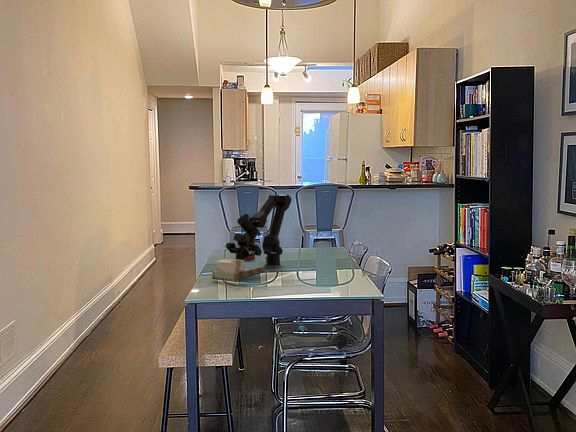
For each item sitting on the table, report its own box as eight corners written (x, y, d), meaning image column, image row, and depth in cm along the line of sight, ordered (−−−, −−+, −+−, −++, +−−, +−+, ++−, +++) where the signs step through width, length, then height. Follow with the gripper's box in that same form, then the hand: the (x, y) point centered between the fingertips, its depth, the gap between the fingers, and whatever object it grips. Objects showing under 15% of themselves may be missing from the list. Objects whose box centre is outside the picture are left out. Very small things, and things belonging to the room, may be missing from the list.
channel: (242, 270, 286) (242, 263, 286) (265, 272, 279) (265, 265, 278) (212, 278, 267) (212, 271, 267) (235, 281, 260) (235, 274, 259)
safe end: (225, 275, 275) (225, 268, 275) (248, 278, 268) (248, 270, 267) (212, 278, 267) (212, 271, 267) (235, 281, 260) (235, 274, 259)
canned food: (253, 259, 316) (252, 240, 315) (239, 259, 318) (238, 240, 317) (256, 257, 324) (256, 238, 323) (243, 257, 325) (242, 238, 324)
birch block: (228, 273, 274) (227, 258, 273) (244, 275, 268) (243, 260, 267) (217, 276, 267) (216, 261, 266) (233, 278, 262) (233, 262, 261)
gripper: (227, 226, 278) (213, 251, 270) (257, 228, 268) (243, 254, 260) (237, 239, 286) (224, 265, 278) (267, 242, 275) (254, 268, 267)
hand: (236, 263), depth 271 cm, fingers closed
